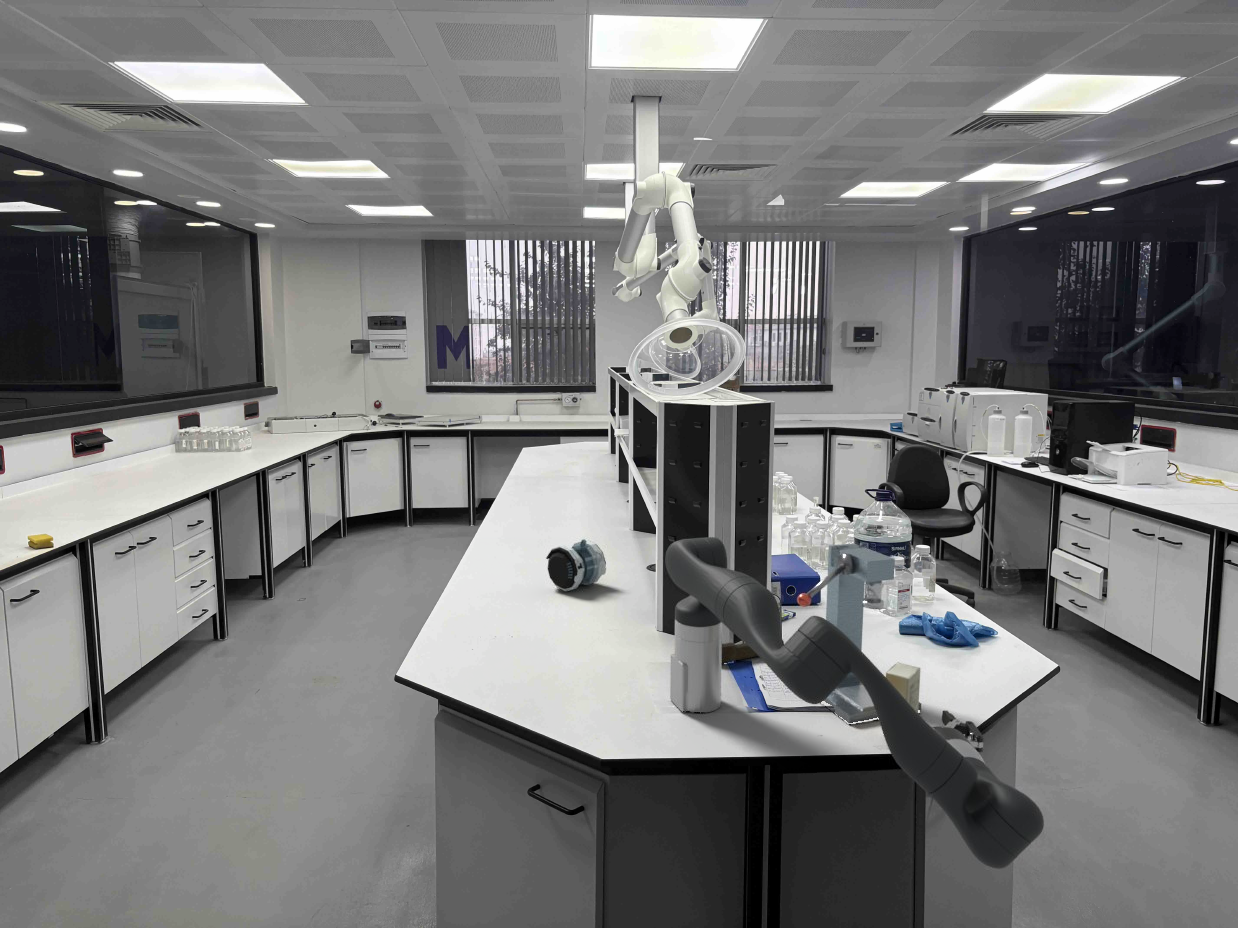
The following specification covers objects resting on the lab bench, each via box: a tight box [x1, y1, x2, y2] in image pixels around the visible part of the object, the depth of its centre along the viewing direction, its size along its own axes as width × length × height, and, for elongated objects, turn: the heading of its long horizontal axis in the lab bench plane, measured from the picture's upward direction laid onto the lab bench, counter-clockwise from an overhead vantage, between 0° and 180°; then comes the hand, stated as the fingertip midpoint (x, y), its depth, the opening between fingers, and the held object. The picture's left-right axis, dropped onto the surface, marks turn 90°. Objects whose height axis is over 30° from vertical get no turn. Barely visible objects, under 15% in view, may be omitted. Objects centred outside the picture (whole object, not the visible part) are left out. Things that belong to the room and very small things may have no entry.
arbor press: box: [796, 542, 922, 723], centre depth 156 cm, size 22×17×30 cm
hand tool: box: [722, 638, 785, 664], centre depth 181 cm, size 19×4×5 cm, turn 115°
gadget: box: [545, 538, 607, 592], centre depth 234 cm, size 14×13×15 cm
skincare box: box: [885, 662, 921, 713], centre depth 145 cm, size 6×4×12 cm
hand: (919, 715), depth 138 cm, fingers open, 8 cm apart
